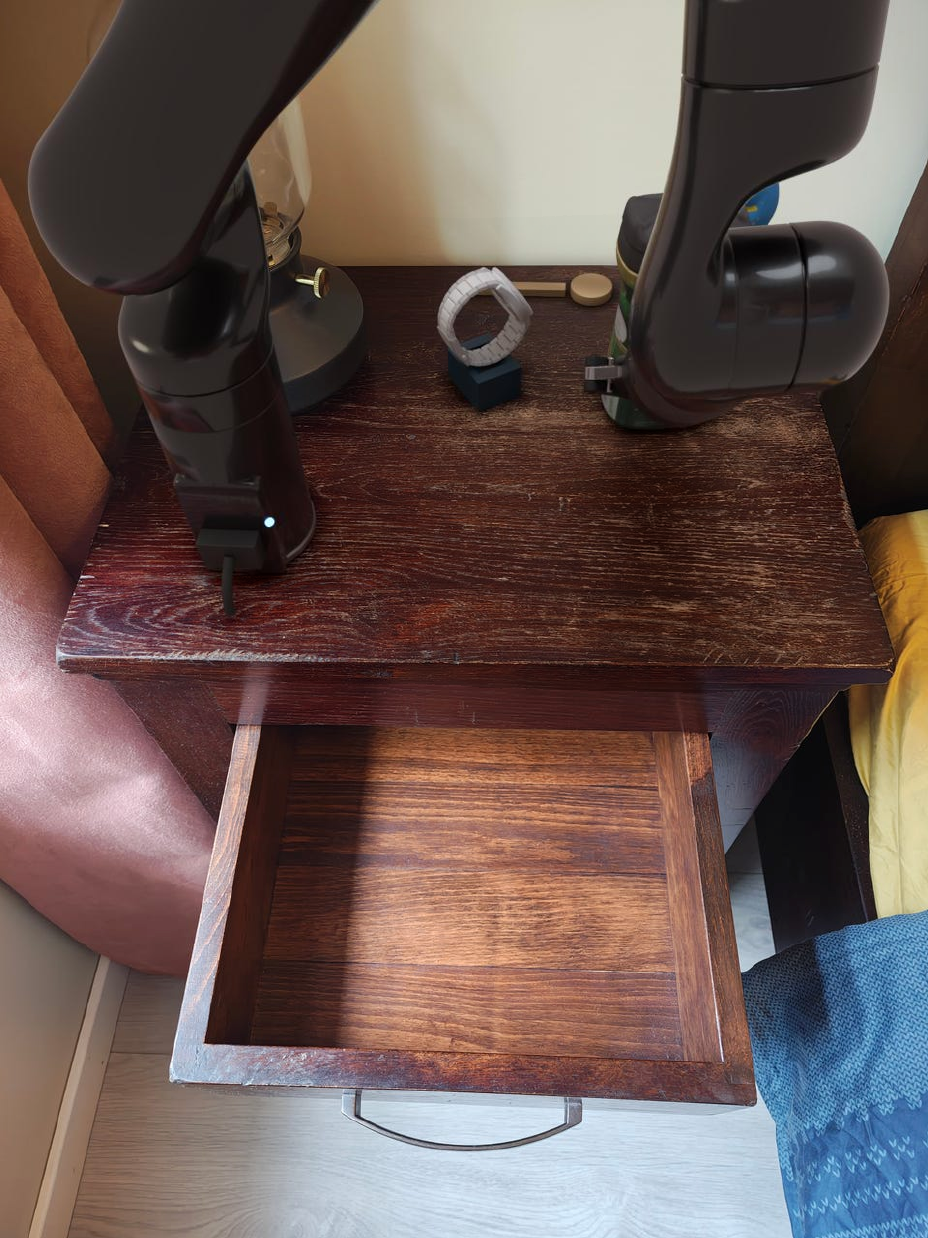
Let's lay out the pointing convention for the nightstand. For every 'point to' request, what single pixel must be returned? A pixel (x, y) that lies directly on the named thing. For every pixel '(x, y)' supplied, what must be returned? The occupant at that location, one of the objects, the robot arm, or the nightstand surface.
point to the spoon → (583, 289)
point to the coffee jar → (629, 260)
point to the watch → (485, 341)
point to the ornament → (763, 206)
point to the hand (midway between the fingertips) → (656, 388)
